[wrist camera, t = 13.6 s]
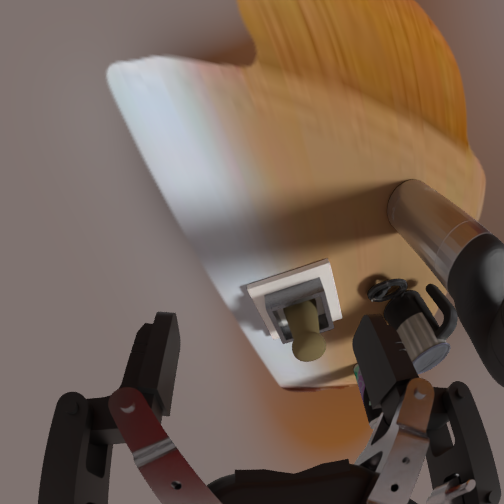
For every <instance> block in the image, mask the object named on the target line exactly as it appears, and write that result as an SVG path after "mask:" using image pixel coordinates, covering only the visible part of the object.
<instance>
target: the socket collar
mask: <svg viewBox="0 0 504 504" xmlns="http://www.w3.org/2000/svg"><path fill="white" fill-rule="evenodd" d="M264 297H265V307H266V311H267V313H268V315H269V317H270V319H271V321H272V323H273V325H274V327H275V329H276V331H277V333H278V335H279V337H280V339H281V341H282V343H283V344H285V343H288V342H292V341H294V339H293V336H292V333H291V331H290V328H289V325H286V326H284V325H283V323H282V321H281V319H280V317H279V315H278V312H277V310H279V309H282V308H285V307H288V306H292V305H295V304H298V303H301V302H304V301H307V300H310V299H313V298H317V297H321V301H322V304H323V308H324V312H325V313H324V314H321V315H318V322H319V331H320V333H322V332H325V331H328V330H331V329H334V325H333V321H332V317H331V313H330V309H329V306H328V302H327V298H326V294H325V291H324V288H323V285H322V282H321V280H320V277H318V278H316V279H313V280H310V281H306V282H303V283H300V284H297V285H294V286H291V287H288V288H285V289H282V290H279V291H276V292H272V293H269V294H266V295H264Z"/></svg>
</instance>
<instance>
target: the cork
mask: <svg viewBox="0 0 504 504" xmlns="http://www.w3.org/2000/svg"><path fill="white" fill-rule="evenodd" d="M283 311H284V314H285V317H286V320H287V322H288V325H289V328H290V331H291V333H292V336H293V339H294V341H293V343H292V351H293V354H294V356H295V357H296V358H297V359H298V360H300V361H304V362H309V361H314V360H316V359H318V358H320V357H321V356H322V355H323V354H324V352H325V350H326V342H325V340H324V338H323V336H322V335H321V334H320V331H319V322H318V312H317V303H316V300H315V298H313V299H310V300H307V301H304V302H301V303H298V304H295V305H292V306H288V307H285V308H283Z"/></svg>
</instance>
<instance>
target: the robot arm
mask: <svg viewBox="0 0 504 504" xmlns="http://www.w3.org/2000/svg"><path fill="white" fill-rule="evenodd" d="M387 215H388V219H389V221H390V223H391V225H392V226H393V227H394V228H395V229H396V230H397V231H398V233H399V234H400V235H401V236H402V237H403V238H404V239H405V240H406V242H407V243H408V244H409V245H410V246H411V247H412V248H413V249H414V251H415V252H416V253H417V254H418V255H419V256H420V258H421V259H422V260H423V261H424V262H425V264H426V265H427V266H428V267H429V268H430V270H431V271H432V272H433V273H434V275H435V276H436V277H437V278H438V279H439V281H440V282H441V283H442V285H443V286H444V287H445V289H446V290H447V291H448V292H449V294H450V295H451V297H452V298H453V299H454V302H455V307H456V312H457V315H458V317H459V319H460V321H461V323H462V325H463V327H464V328H465V330H466V332H467V334H468V335H469V337H470V339H471V341H472V343H473V345H474V347H475V349H476V351H477V353H478V354H479V356H480V358H481V360H482V362H483V364H484V365H485V367H486V369H487V370H488V372H489V373H490V375H491V376H492V377H493V378H494V380H496V381H497V383H498V384H500V385H501V386H503V387H504V244H503V243H502V242H501V241H500V240H499V239H498V238H497V237H495V236H494V235H493V234H492V233H490V231H488V230H487V229H486V228H485V227H484V226H482V225H481V224H480V223H479V222H477V221H476V220H475V219H474V218H472V217H471V216H470V215H468V214H467V213H466V212H465V211H463V210H462V209H461V208H459V207H458V206H457V205H455V204H454V203H452V202H451V201H450V200H448V199H447V198H445V197H444V196H443V195H441V194H440V193H438V192H437V191H436V190H434V189H433V188H431V187H430V186H428V185H426V184H425V183H423V182H421V181H419V180H409V181H406V182H404V183H402V184H401V185H399V186H398V187H397V188H396V189H395V191H394V192H393V194H392V195H391V197H390V200H389V202H388V208H387ZM405 349H406V348H405V346H404V344H403V343H402V340H401V338H400V336H399V334H398V332H397V331H396V330H395V329H394V328H393V327H392V326H391V325H387V324H386V322H385V320H384V318H383V316H382V315H381V314H373V315H364V316H363V318H362V320H361V322H360V324H359V327H358V329H357V331H356V333H355V335H354V338H353V351H354V354H355V357H356V360H357V362H358V365H359V368H360V371H361V374H362V377H363V381H364V384H365V387H366V390H367V393H368V396H369V399H370V403H371V406H372V409H376V408H382V411H383V412H382V413H381V414H380V417H379V419H378V421H377V424H376V426H375V428H374V431H373V433H372V435H371V438H370V440H369V442H368V444H367V446H366V448H365V449H364V451H363V452H362V453H361V454H360V456H359V457H358V459H357V460H356V462H355V464H349V460H348V459H345V460H341V461H335V462H329V463H324V464H320V465H318V466H315V467H313V468H310V469H307V470H305V471H302V472H299V473H295V474H291V473H284V472H277V471H270V470H264V469H262V470H235V474H232V475H228V476H225V477H221V478H219V479H217V480H215V481H213V482H211V483H210V484H208V485H207V486H206V485H205V483H204V482H203V481H202V480H201V479H200V477H199V476H198V475H197V474H196V473H195V471H194V470H193V469H192V467H191V466H190V465H189V464H188V462H187V461H186V460H185V458H184V457H183V455H182V454H181V453H180V452H179V450H178V449H177V447H176V446H175V444H174V443H173V442H172V441H171V439H170V438H169V436H168V435H167V433H166V432H165V430H164V429H163V427H162V426H161V420H162V416H170V409H171V403H172V396H173V389H174V382H175V376H176V370H177V364H178V358H179V352H180V334H179V328H178V323H177V317H176V314H175V313H169V312H157V314H156V316H155V320H154V323H153V324H148V323H145V324H144V325H143V326H142V327H141V328H140V330H139V331H138V332H137V335H136V338H135V341H134V344H133V347H132V350H131V353H130V357H129V360H128V363H127V367H126V370H125V374H124V377H123V381H122V384H121V386H120V388H119V389H117V390H116V391H114V392H113V393H112V395H110V396H107V397H102V398H92V399H85V398H84V396H82V395H81V394H79V393H77V392H68V393H66V394H64V395H62V396H61V397H60V399H59V400H58V402H57V405H56V409H55V412H54V416H53V420H52V424H51V428H50V432H49V437H48V441H47V446H46V451H45V456H44V461H43V467H42V474H41V481H40V489H39V499H38V504H108V490H109V477H110V466H111V457H112V448H113V444H120V443H126V444H127V446H128V447H129V449H130V451H131V453H132V455H133V457H134V462H135V464H136V466H137V468H138V469H139V471H140V472H141V474H142V476H143V477H144V479H145V480H146V482H147V483H148V485H149V486H150V488H151V489H152V491H153V492H154V494H155V495H156V496H157V498H158V499H159V500H160V502H161V503H162V504H417V503H416V502H414V501H413V500H411V499H410V496H411V494H412V491H413V489H414V487H415V484H416V482H417V479H418V476H419V474H420V471H421V468H422V465H423V462H424V459H425V456H426V459H427V463H428V468H429V472H430V477H431V482H432V488H433V491H432V493H431V496H430V497H428V499H427V501H426V503H427V504H498V503H499V500H500V497H501V489H500V483H499V479H498V474H497V470H496V466H495V462H494V458H493V455H492V451H491V448H490V444H489V442H488V438H487V435H486V432H485V429H484V426H483V423H482V420H481V417H480V415H479V412H478V410H477V407H476V404H475V402H474V399H473V397H472V394H471V392H470V390H469V388H468V387H467V385H466V384H464V383H463V382H460V381H456V382H453V383H452V384H451V385H450V386H449V387H448V388H438V387H433V386H432V385H431V383H430V382H429V381H427V380H426V379H423V378H419V376H418V374H417V372H416V370H415V368H414V365H413V363H412V361H411V359H410V357H409V355H408V353H407V350H405ZM448 421H450V424H451V427H452V430H453V434H454V437H455V444H454V446H453V443H452V440H451V437H450V433H449V430H448V427H447V424H446V423H447V422H448Z"/></svg>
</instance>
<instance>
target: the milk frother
mask: <svg viewBox="0 0 504 504" xmlns="http://www.w3.org/2000/svg"><path fill="white" fill-rule="evenodd" d="M395 285H398V286H400V287H399V289H397V290H396V291H395V292H393V293H391V294H389V295H386V296H384V295H385V294H386V293H387V291H388V289H390V288H391V286H395ZM406 289H407V282H406V281H405V280H403V279H391V280H387V281H384V282H381V283H379V284H376V285H375V286H373V287H372V288H371V289H370V290H369V291H368V294H367V295H368V298H369V299H370V300H371V302H373V301H375V302H382V301H386V300H389V299H392V298H393V299H392V300H391V301H390V302H389V303H388V305H387V306H386V308H385V310H384V318H385V320H386V321H388V323H389V325H391V326H392V327H393V328H394V329H395V330H396V331H397V332H398V334H399V336H400V338H401V340H402V343H403V344H404V346H405V348H406V349H405V350H407V353H408V355H409V357H410V359H411V361H412V363H413V365H414V368H415V370H416V372H417V374H420V373H423V372H426V371H428V370H430V369H432V368H433V367H435V366H436V365H437V364H438V363H440V362H441V361H442V360H443V359H444V358H445V357H446V356H447V354H448V353H449V351H450V344H448V343H446V341H445V340H446V339H447V338H448V337H449V336H450V335H451V334H452V332H453V331H454V329H455V327H456V325H457V312H456V309H455V308H454V306H453V305H452V304H451V303H450V302H449V300H448V299H447V298H446V297H445V295H444V294H443V293H442V292H441V291H440V290H439V289H438V287H437V286H435V285H433V284H428V285H427V286H426V291H427V293H428V294H429V295H430V297H431V298H432V299H433V300H434V302H435V303H436V304H437V306H438V307H439V308H440V310H441V311H442V312H443V314H444V321H443V324H442V325H441V326H440V327H439V325H438V323H437V321H436V320H435V318H434V317H433V315H432V313H431V312H430V310H429V308H428V307H427V305H426V303H425V302H424V300H423V299H422V298H421V296H420V294H419V293H418V292H416V291H412V290H410V291H406Z"/></svg>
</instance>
